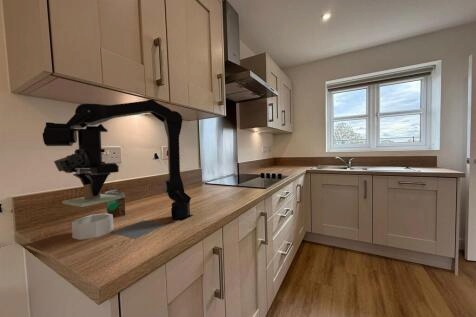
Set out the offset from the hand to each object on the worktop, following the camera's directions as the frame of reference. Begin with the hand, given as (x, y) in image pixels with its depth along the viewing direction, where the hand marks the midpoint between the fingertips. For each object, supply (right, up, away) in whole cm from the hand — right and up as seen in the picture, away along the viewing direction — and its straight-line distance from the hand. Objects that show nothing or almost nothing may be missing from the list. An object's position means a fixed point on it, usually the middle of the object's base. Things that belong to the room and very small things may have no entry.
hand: (92, 195), depth 63 cm
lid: (0, -2, 0) cm, 2 cm away
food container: (-5, -12, +19) cm, 23 cm away
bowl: (0, -12, 0) cm, 12 cm away
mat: (+14, -12, +3) cm, 18 cm away
